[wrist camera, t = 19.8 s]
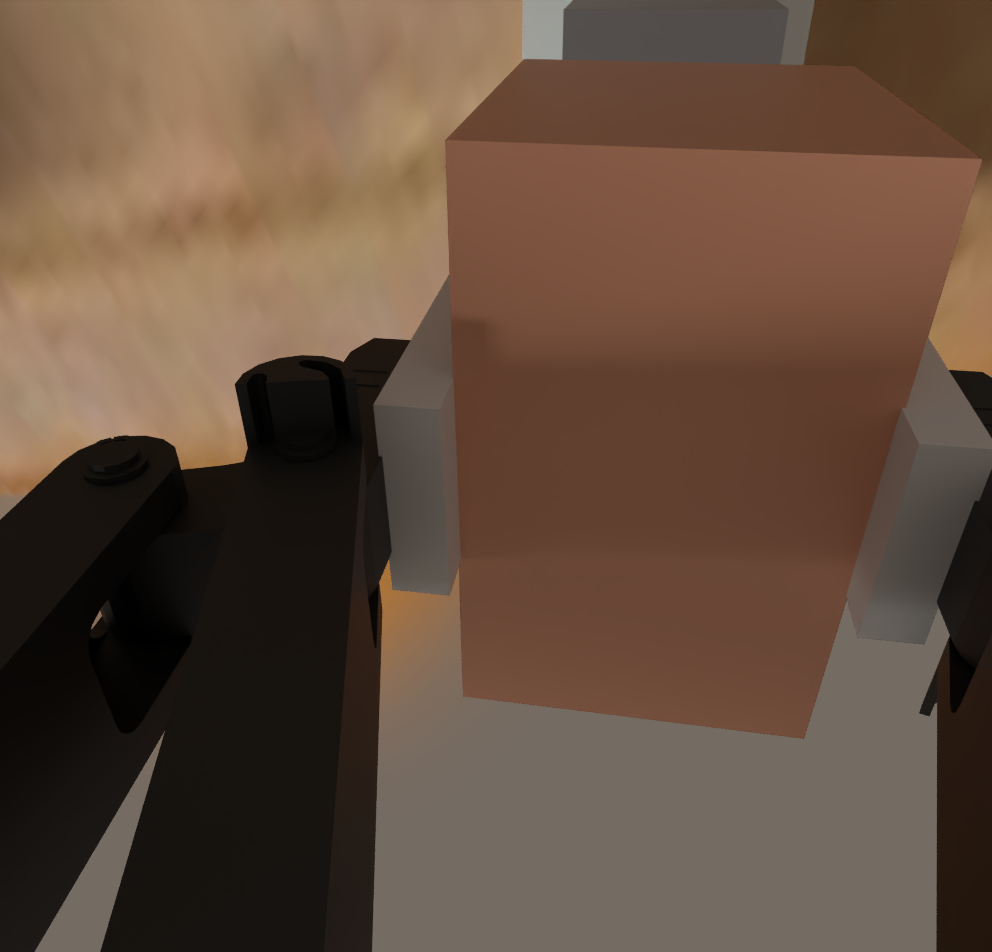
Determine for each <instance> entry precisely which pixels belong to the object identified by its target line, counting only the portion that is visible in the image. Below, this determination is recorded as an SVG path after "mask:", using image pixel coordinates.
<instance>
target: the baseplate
mask: <svg viewBox="0 0 992 952" xmlns="http://www.w3.org/2000/svg"><path fill="white" fill-rule="evenodd" d="M572 1H573V0H523V55H522V61H523V60H524V59H556V60H562V48H563V11H564V9H565V8H566V7H567V6H568V5H569V4H570V3H571V2H572ZM777 1H778V2H779V3H781V4H782V5H784V6H785V7H786V8H788V9H789V13H788V19H787V25H786V32H785V38H784V44H783V51H782V57H781V63H780V64H786V65H804V59H805V53H806V48H807V42H808V36H809V31H810V25H811V19H812V14H813V8H814V2H815V0H777Z"/></svg>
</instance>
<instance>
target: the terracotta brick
mask: <svg viewBox="0 0 992 952" xmlns="http://www.w3.org/2000/svg"><path fill="white" fill-rule="evenodd" d="M445 146H446V178H447V209H448V241H449V272H450V304H451V336H452V367H453V378H454V402H455V427H456V451H457V475H458V500H459V524H460V549H461V561H460V564H459V586H460V619H461V648H462V649H461V650H462V681H463V682H462V683H463V696H465V697H474V698H481V699H489V700H498V701H506V702H513V703H521V704H529V705H538V706H545V707H553V708H561V709H570V710H577V711H585V712H594V713H601V714H610V715H618V716H626V717H634V718H642V719H650V720H658V721H666V722H674V723H682V724H690V725H698V726H706V727H714V728H722V729H730V730H738V731H746V732H754V733H762V734H770V735H778V736H787V737H794V738H803V739H804V737H805V734H806V731H807V727H808V724H809V721H810V718H811V715H812V711H813V708H814V705H815V702H816V698H817V695H818V692H819V689H820V685H821V682H822V679H823V676H824V672H825V669H826V666H827V663H828V659H829V656H830V653H831V650H832V646H833V643H834V639H835V637H836V633H837V630H838V627H839V624H840V620H841V617H842V614H843V611H844V607H845V604H846V601H847V597H846V595H847V591H848V588H849V585H850V581H851V578H852V574H853V571H854V568H855V564H856V561H857V557H858V554H859V551H860V547H861V544H862V540H863V537H864V534H865V530H866V527H867V523H868V520H869V517H870V513H871V510H872V506H873V503H874V500H875V496H876V493H877V489H878V486H879V483H880V479H881V476H882V472H883V469H884V465H885V462H886V459H887V455H888V452H889V448H890V445H891V442H892V438H893V435H894V431H895V428H896V425H897V421H898V418H899V414H900V411H901V408H906V406H907V403H908V400H909V397H910V393H911V390H912V387H913V384H914V380H915V377H916V374H917V371H918V367H919V364H920V361H921V358H922V354H923V351H924V348H925V345H926V342H927V338H928V335H929V332H930V329H931V325H932V322H933V319H934V316H935V312H936V309H937V306H938V303H939V299H940V296H941V293H942V290H943V286H944V283H945V280H946V277H947V273H948V270H949V267H950V264H951V260H952V257H953V254H954V251H955V247H956V244H957V241H958V238H959V234H960V231H961V228H962V225H963V222H964V218H965V215H966V212H967V209H968V205H969V202H970V199H971V196H972V192H973V189H974V186H975V183H976V179H977V176H978V173H979V170H980V166H981V163H982V160H983V159H982V158H981V157H979V156H978V155H976V154H975V153H974V152H972V151H971V150H970V149H968V148H967V147H965V146H964V145H963V144H961V143H960V142H959V141H957V140H956V139H954V138H953V137H952V136H950V135H949V134H948V133H946V132H945V131H943V130H942V129H941V128H939V127H938V126H937V125H935V124H934V123H932V122H931V121H930V120H928V119H927V118H925V117H924V116H923V115H921V114H920V113H919V112H917V111H916V110H914V109H913V108H912V107H910V106H909V105H908V104H906V103H905V102H903V101H902V100H901V99H899V98H898V97H897V96H895V95H894V94H892V93H891V92H890V91H888V90H887V89H886V88H884V87H883V86H881V85H880V84H879V83H877V82H876V81H875V80H873V79H872V78H870V77H869V76H868V75H866V74H865V73H864V72H862V71H861V70H859V69H858V68H857V67H855V66H832V65H786V64H740V63H694V62H648V61H602V60H556V59H524V60H523V61H522V62H521V63H520V64H519V65H518V66H517V67H516V68H515V69H514V70H513V71H512V72H511V73H510V74H509V75H508V76H507V77H506V78H505V79H504V80H503V81H502V82H501V83H500V84H499V85H498V86H497V88H496V89H495V90H494V91H493V92H492V93H491V94H490V95H489V96H488V97H487V98H486V99H485V100H484V101H483V102H482V103H481V104H480V105H479V106H478V107H477V108H476V109H475V110H474V111H473V112H472V113H471V114H470V115H469V116H468V117H467V118H466V119H465V120H464V121H463V122H462V124H461V125H460V126H459V127H458V128H457V129H456V130H455V131H454V132H453V133H452V134H451V135H450V136H449V137H448V138H447V139H446V140H445Z"/></svg>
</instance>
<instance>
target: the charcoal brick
mask: <svg viewBox="0 0 992 952" xmlns="http://www.w3.org/2000/svg"><path fill="white" fill-rule="evenodd" d="M788 13H789V9H788V8H786V7H785V6H784V5H782V4H781V3H779V2H778V1H777V0H573V1H572V2H571V3H570V4H569V5H568V6H567V7H566V8H565V9H564V11H563V48H562V60H602V61H648V62H694V63H740V64H780V63H781V57H782V51H783V44H784V38H785V32H786V25H787V19H788Z"/></svg>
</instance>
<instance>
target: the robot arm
mask: <svg viewBox="0 0 992 952" xmlns="http://www.w3.org/2000/svg"><path fill="white" fill-rule="evenodd" d="M235 388H236V392H237V397H238V402H239V407H240V412H241V417H242V422H243V426H244V431H245V436H246V441H247V446H248V449H247V453H246V456H245V460H244V462H241V463H235V464H229V465H223V466H213V467H204V468H195V469H185V470H181V468H180V464H179V460H178V456H177V453H176V449H175V447H174V446H173V445H171V444H170V443H168V442H167V441H165V440H164V439H159V438H154V437H149V436H118V437H114V439H111V438H108V439H104V440H100V441H98V442H97V443H95V444H93V445H90V446H88V447H85V448H83V449H81V450H78V451H77V452H76V453H74V454H73V455H71V456H70V457H68V458H67V459H65V460H64V461H63V462H61V463H60V464H59V465H58V466H57V467H56V468H55V469H54V470H53V471H52V472H51V473H50V474H49V475H48V476H47V477H45V478H44V479H43V480H42V481H41V482H40V483H39V484H38V485H37V486H36V487H35V488H34V489H33V490H32V491H31V492H29V493H28V494H27V495H26V496H25V497H24V498H23V499H22V500H21V501H20V502H19V503H18V504H17V505H16V506H14V508H12V509H11V510H10V511H9V512H8V513H7V514H6V515H5V516H4V517H3V518H2V519H1V520H0V952H35V950H36V948H37V946H38V945H39V943H40V941H41V940H42V938H43V936H44V935H45V933H46V931H47V930H48V928H49V926H50V925H51V923H52V921H53V919H54V918H55V916H56V914H57V913H58V911H59V909H60V908H61V906H62V904H63V902H64V901H65V899H66V897H67V896H68V894H69V892H70V891H71V889H72V887H73V886H74V884H75V882H76V880H77V879H78V877H79V875H80V874H81V872H82V870H83V869H84V867H85V865H86V864H87V862H88V860H89V858H90V857H91V855H92V853H93V852H94V850H95V848H96V847H97V845H98V843H99V841H100V840H101V838H102V836H103V835H104V833H105V831H106V830H107V828H108V826H109V824H110V823H111V821H112V819H113V818H114V816H115V814H116V813H117V811H118V809H119V808H120V806H121V804H122V802H123V801H124V799H125V797H126V796H127V794H128V792H129V791H130V789H131V787H132V785H133V784H134V782H135V780H136V779H137V777H138V775H139V774H140V772H141V770H142V769H143V767H144V765H145V763H146V762H147V760H148V758H149V756H150V755H151V753H152V752H153V750H154V748H155V747H156V745H157V743H158V741H159V740H160V738H161V736H162V735H163V733H164V731H165V733H164V736H163V740H162V743H161V747H160V750H159V753H158V757H157V760H156V764H155V767H154V771H153V774H152V777H151V781H150V784H149V788H148V791H147V795H146V798H145V801H144V805H143V808H142V811H141V815H140V818H139V822H138V825H137V829H136V832H135V835H134V839H133V842H132V846H131V849H130V852H129V856H128V859H127V863H126V866H125V869H124V873H123V876H122V880H121V883H120V887H119V890H118V893H117V897H116V900H115V904H114V907H113V910H112V914H111V917H110V921H109V924H108V928H107V931H106V935H105V938H104V942H103V945H102V948H101V951H100V952H372V932H373V930H372V929H373V898H374V896H373V895H374V865H375V832H376V799H377V766H378V732H379V698H380V667H381V634H382V603H381V594H380V585H379V581H380V579H381V576H382V574H383V571H384V569H385V567H386V564H387V562H388V560H389V561H390V570H391V579H392V589H393V590H401V591H410V592H420V593H430V594H439V595H450V593H451V590H452V586H453V583H454V580H455V577H456V574H457V570H458V567H459V564H460V561H461V549H460V524H459V500H458V475H457V451H456V427H455V402H454V378H453V367H452V336H451V304H450V274H449V276H448V278H447V279H446V281H445V283H444V284H443V286H442V288H441V289H440V291H439V293H438V295H437V296H436V298H435V300H434V301H433V303H432V305H431V307H430V308H429V310H428V312H427V313H426V315H425V317H424V319H423V320H422V322H421V324H420V325H419V327H418V329H417V331H416V332H415V334H414V336H413V337H412V339H411V340H398V339H381V338H373V339H372V340H370V341H368V342H367V343H365V344H363V345H362V346H360V347H358V348H356V349H355V350H353V351H351V352H350V354H349V355H348V356H347V358H346V359H345V361H344V362H342V361H340V360H336V359H332V358H328V357H324V356H306V355H300V356H293V357H285V358H278V359H275V360H272V361H269V362H266V363H262V364H259V365H257V366H255V367H254V368H252V369H250V370H249V371H247V372H245V373H243V374H242V376H241V377H240V378H239V380H238V381H237V382H236V383H235ZM846 597H847V601H848V605H849V608H850V612H851V616H852V619H853V623H854V627H855V630H856V634H857V637H858V638H866V639H875V640H885V641H895V642H904V643H914V644H923V645H924V644H925V641H926V638H927V636H928V634H929V631H930V628H931V626H932V623H933V620H934V618H935V615H936V613H937V610H938V607H939V609H940V611H941V614H942V616H943V619H944V621H945V624H946V626H947V629H948V631H949V634H950V637H949V639H948V641H947V644H946V647H945V649H944V651H943V654H942V656H941V659H940V661H939V664H938V666H937V669H936V671H935V674H934V676H933V679H932V681H931V683H930V686H929V688H928V691H927V694H926V696H925V698H924V701H923V704H922V707H921V709H920V712H919V713H920V714H923V715H927V716H930V714H931V711H932V709H933V706H934V704H935V703H937V952H992V378H991V377H990V376H988V375H986V374H985V373H983V372H974V371H957V370H948V368H947V367H946V365H945V364H944V362H943V361H942V359H941V357H940V356H939V354H938V353H937V351H936V349H935V348H934V346H933V345H932V343H931V342H930V340H929V338H927V342H926V345H925V348H924V351H923V354H922V358H921V361H920V364H919V367H918V371H917V374H916V377H915V380H914V384H913V387H912V390H911V393H910V397H909V400H908V403H907V406H906V408H901V411H900V414H899V418H898V421H897V425H896V428H895V431H894V435H893V438H892V442H891V445H890V448H889V452H888V455H887V459H886V462H885V465H884V469H883V472H882V476H881V479H880V483H879V486H878V489H877V493H876V496H875V500H874V503H873V506H872V510H871V513H870V517H869V520H868V523H867V527H866V530H865V534H864V537H863V540H862V544H861V547H860V551H859V554H858V557H857V561H856V564H855V568H854V571H853V574H852V578H851V581H850V585H849V588H848V591H847V595H846ZM99 611H101V614H102V617H101V618H100V619H99V621H98V622H97V624H96V625H95V626H94V627H93V629H91V627H92V624H93V622H94V620H95V618H96V616H97V615H98V613H99Z"/></svg>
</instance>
